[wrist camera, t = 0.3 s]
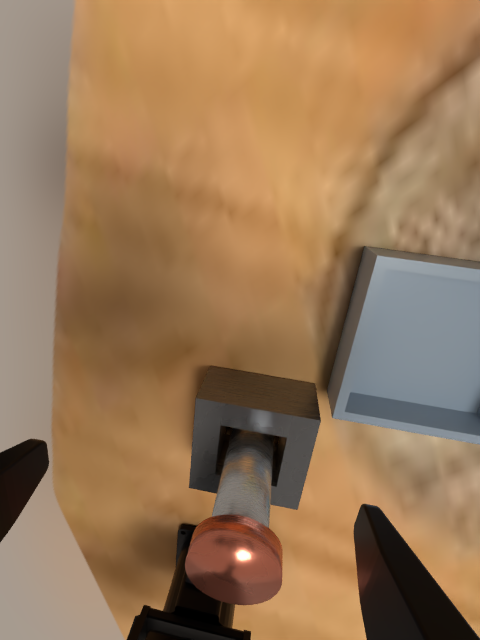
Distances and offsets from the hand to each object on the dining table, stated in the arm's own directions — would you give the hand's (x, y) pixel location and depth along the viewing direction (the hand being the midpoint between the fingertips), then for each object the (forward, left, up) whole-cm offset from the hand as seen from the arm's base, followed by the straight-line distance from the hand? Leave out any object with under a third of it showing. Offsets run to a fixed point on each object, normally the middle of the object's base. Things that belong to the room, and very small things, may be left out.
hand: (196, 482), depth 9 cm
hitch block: (-8, -2, -14) cm, 16 cm away
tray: (0, -11, -14) cm, 18 cm away
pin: (-8, -2, -14) cm, 16 cm away
